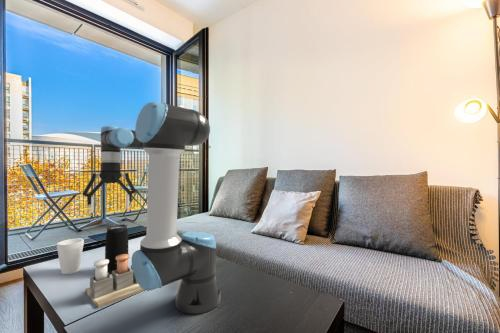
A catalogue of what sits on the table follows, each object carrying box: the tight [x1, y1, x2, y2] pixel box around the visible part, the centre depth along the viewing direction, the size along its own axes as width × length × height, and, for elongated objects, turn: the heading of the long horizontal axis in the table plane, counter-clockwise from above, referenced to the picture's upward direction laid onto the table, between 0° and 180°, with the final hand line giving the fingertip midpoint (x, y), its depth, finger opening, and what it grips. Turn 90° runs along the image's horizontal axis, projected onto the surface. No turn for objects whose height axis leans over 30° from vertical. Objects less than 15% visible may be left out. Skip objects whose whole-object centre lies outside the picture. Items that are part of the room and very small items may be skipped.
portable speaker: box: [104, 224, 129, 275], centre depth 105 cm, size 9×9×20 cm
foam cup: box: [56, 237, 85, 275], centre depth 104 cm, size 10×9×13 cm
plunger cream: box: [93, 258, 109, 282], centre depth 84 cm, size 5×5×7 cm
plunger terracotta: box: [116, 253, 130, 275], centre depth 89 cm, size 5×5×7 cm
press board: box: [84, 264, 145, 309], centre depth 89 cm, size 15×20×7 cm
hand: (110, 210), depth 103 cm, fingers open, 13 cm apart
